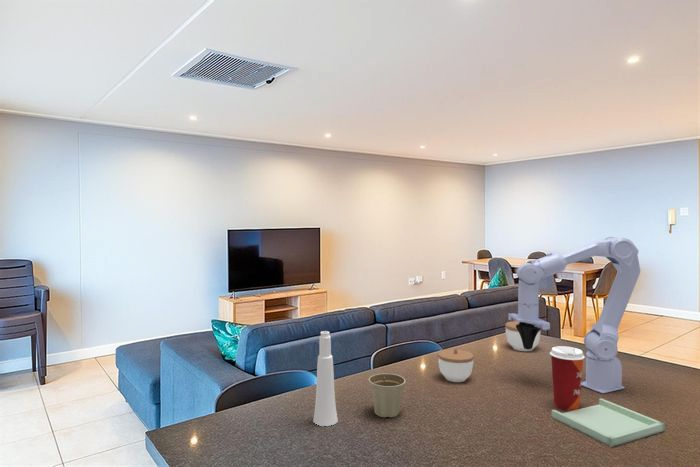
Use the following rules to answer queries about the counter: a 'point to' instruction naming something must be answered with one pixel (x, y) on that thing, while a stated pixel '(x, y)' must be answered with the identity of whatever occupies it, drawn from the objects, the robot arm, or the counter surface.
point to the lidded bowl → (518, 337)
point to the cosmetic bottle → (325, 384)
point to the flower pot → (386, 393)
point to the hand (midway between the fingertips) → (527, 348)
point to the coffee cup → (567, 377)
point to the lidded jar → (455, 364)
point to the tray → (610, 423)
